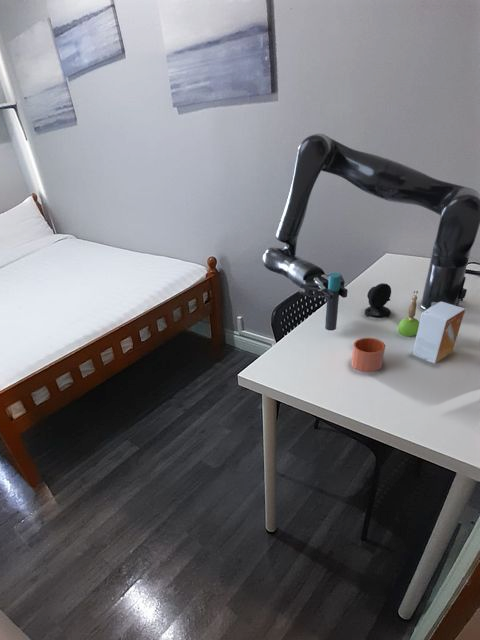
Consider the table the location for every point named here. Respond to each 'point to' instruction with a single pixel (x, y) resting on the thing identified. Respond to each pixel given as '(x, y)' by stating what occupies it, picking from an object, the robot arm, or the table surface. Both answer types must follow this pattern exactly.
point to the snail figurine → (410, 320)
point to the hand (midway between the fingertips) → (340, 295)
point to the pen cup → (368, 354)
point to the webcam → (378, 301)
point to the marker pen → (333, 305)
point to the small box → (438, 331)
